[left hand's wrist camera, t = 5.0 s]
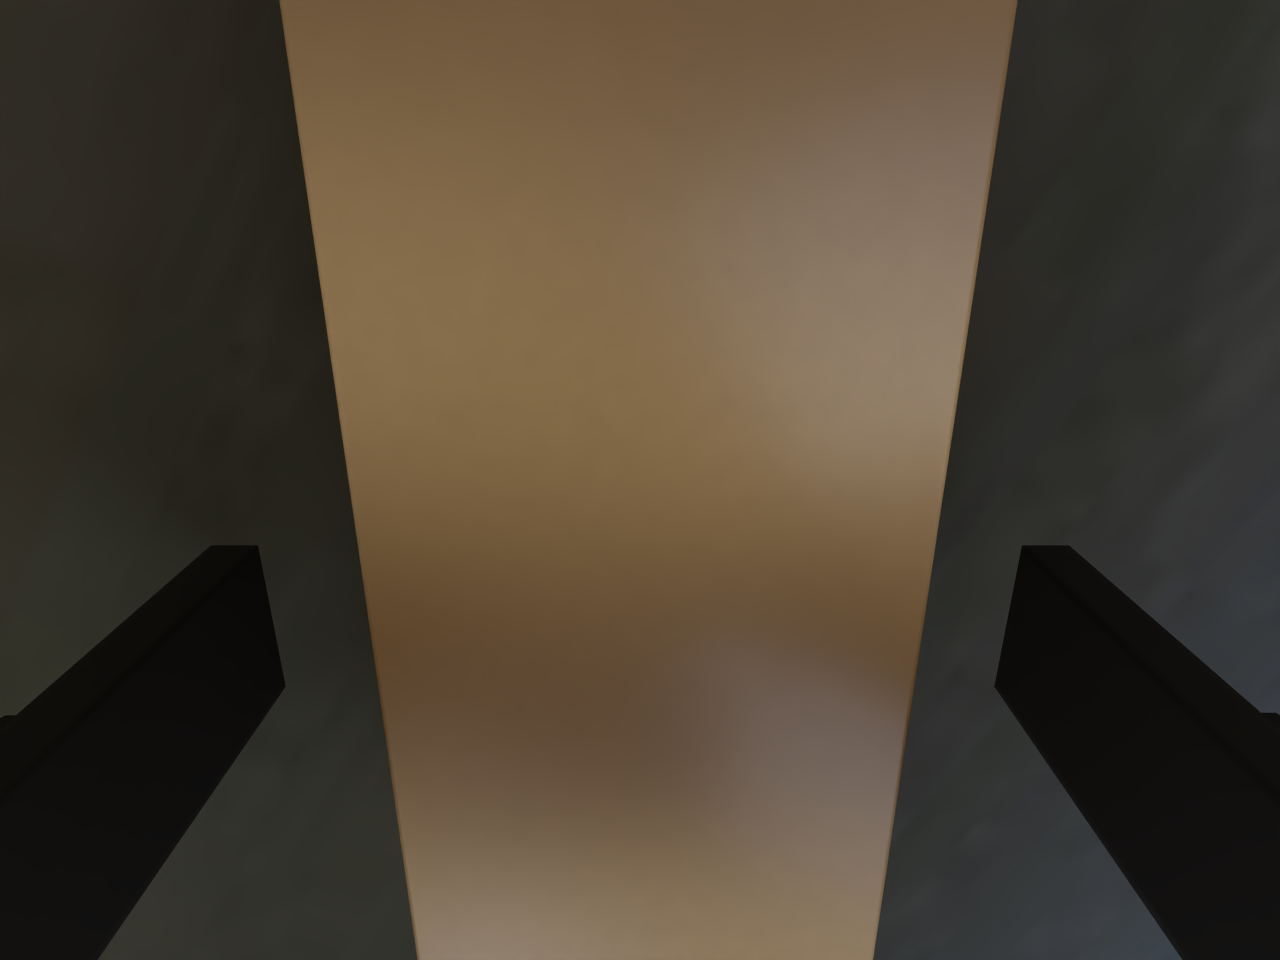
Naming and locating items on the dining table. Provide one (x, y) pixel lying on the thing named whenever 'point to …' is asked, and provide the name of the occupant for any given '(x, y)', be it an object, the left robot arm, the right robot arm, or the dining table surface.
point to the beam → (646, 442)
